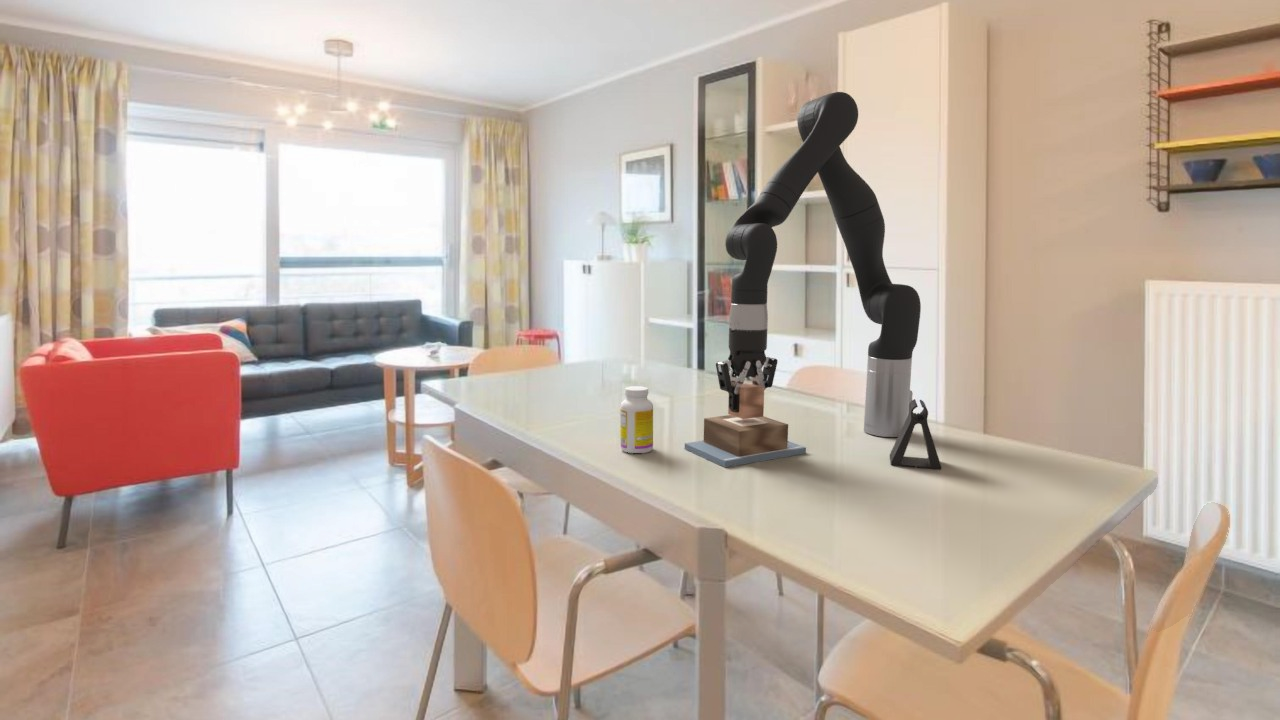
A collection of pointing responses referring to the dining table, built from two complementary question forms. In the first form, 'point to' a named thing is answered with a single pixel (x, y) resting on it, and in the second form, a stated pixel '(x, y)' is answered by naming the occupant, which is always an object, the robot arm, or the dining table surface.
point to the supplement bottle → (636, 421)
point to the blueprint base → (743, 440)
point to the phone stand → (904, 437)
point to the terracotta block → (750, 402)
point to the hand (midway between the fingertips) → (745, 409)
